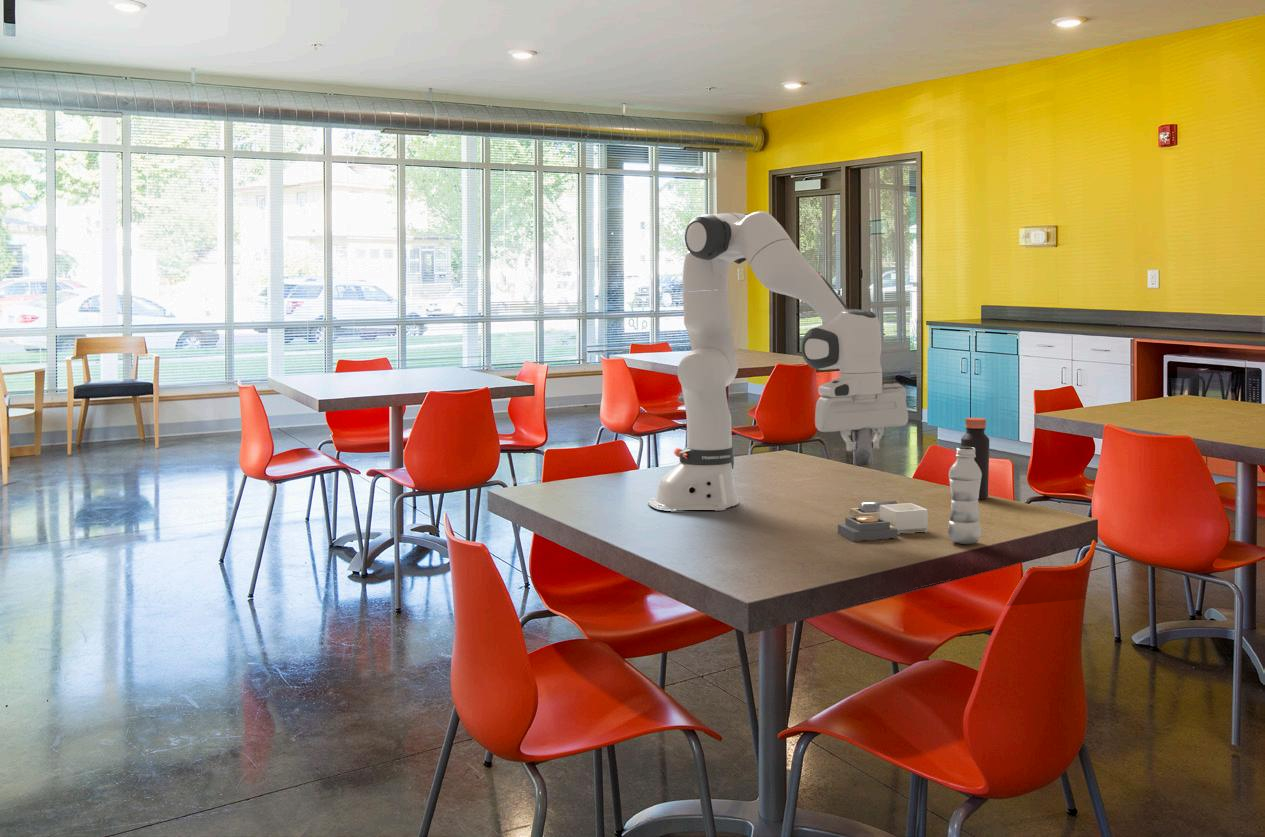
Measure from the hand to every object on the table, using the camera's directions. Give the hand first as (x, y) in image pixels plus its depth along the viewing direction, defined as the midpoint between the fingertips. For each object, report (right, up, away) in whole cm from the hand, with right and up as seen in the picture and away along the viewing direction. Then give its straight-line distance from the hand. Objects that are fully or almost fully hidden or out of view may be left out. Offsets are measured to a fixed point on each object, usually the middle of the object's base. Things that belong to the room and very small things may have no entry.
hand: (862, 449), depth 227 cm
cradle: (+1, -19, +1) cm, 19 cm away
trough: (+6, -17, +13) cm, 23 cm away
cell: (0, -3, 0) cm, 3 cm away
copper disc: (+1, -15, +1) cm, 15 cm away
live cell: (+6, -17, +13) cm, 23 cm away
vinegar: (+37, -13, +40) cm, 56 cm away
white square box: (+10, -18, +6) cm, 21 cm away
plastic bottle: (+20, -19, -7) cm, 28 cm away
